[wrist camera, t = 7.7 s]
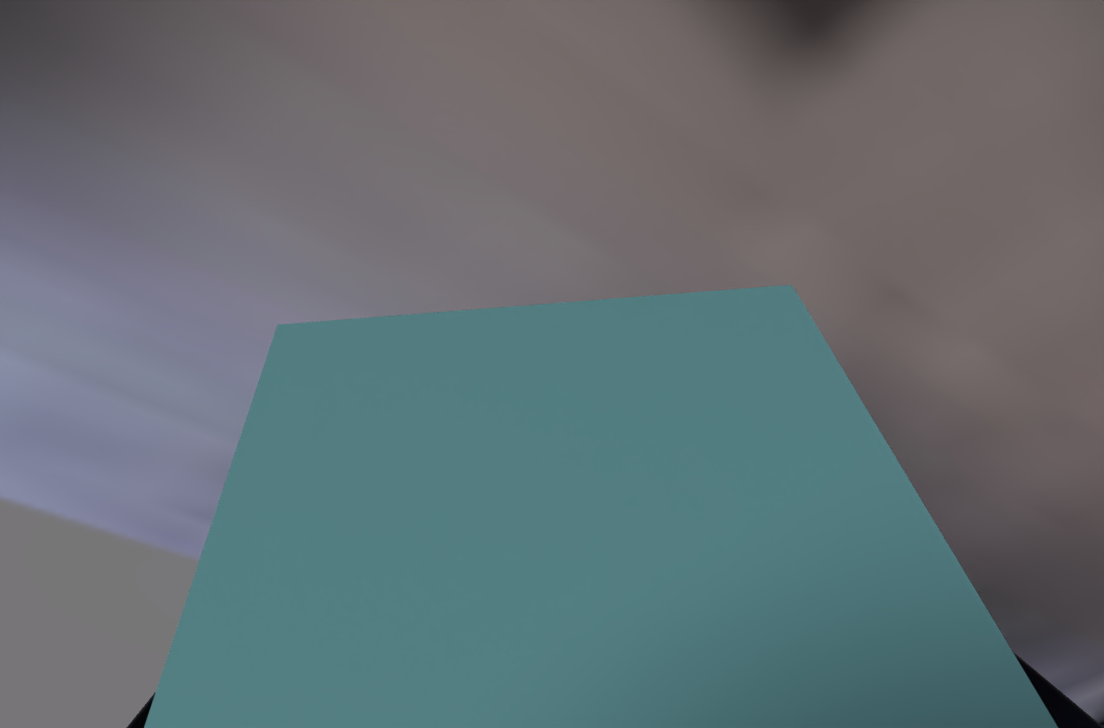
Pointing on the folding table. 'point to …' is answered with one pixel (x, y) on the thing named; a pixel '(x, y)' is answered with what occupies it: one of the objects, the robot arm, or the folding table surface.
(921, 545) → the teal block
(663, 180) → the folding table surface
